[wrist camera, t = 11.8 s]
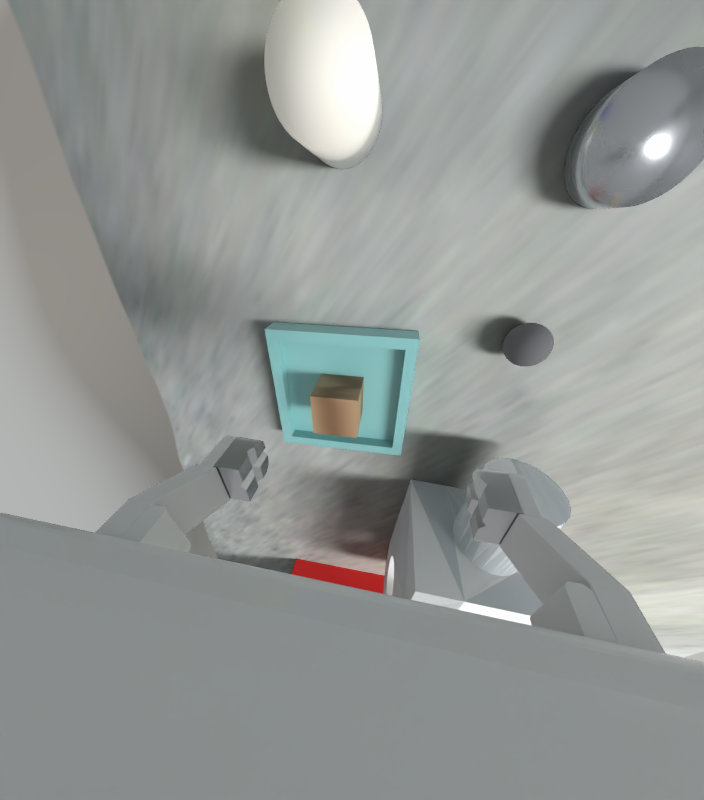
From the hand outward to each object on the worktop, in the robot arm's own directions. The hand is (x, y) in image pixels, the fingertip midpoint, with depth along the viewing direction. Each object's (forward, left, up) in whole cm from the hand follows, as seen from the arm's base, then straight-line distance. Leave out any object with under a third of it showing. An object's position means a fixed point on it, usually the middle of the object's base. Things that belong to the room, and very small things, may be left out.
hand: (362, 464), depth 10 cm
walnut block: (+4, +10, -20) cm, 22 cm away
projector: (-15, +33, -21) cm, 42 cm away
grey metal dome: (-15, -12, -21) cm, 29 cm away
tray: (+5, +10, -21) cm, 23 cm away
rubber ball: (-13, +2, -19) cm, 23 cm away
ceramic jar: (+5, -14, -21) cm, 26 cm away
